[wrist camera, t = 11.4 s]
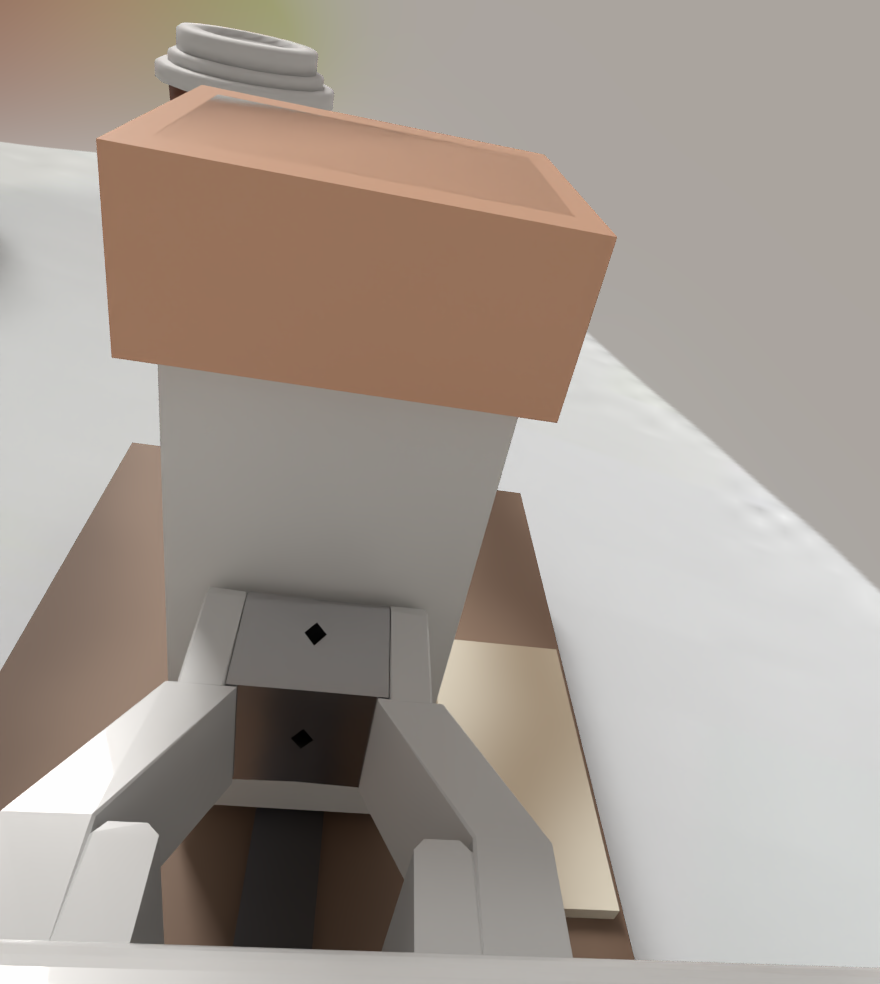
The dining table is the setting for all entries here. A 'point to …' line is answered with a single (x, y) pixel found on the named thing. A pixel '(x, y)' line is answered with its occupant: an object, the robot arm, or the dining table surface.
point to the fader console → (289, 832)
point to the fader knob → (336, 351)
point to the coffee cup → (243, 65)
